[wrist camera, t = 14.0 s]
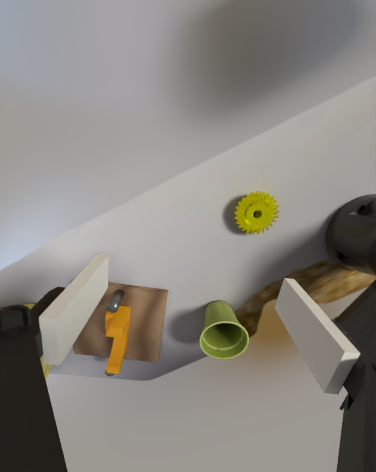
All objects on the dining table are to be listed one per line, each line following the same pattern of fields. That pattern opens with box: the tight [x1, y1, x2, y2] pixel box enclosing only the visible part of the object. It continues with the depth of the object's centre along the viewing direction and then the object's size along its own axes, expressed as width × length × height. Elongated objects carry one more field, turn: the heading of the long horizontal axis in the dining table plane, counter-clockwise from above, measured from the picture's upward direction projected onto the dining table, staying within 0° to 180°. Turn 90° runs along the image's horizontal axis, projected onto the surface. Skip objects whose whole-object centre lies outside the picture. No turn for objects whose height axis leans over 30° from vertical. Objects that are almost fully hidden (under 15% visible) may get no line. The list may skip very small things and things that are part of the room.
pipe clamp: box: [105, 306, 131, 374], centre depth 46 cm, size 12×4×6 cm, turn 170°
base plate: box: [74, 283, 168, 362], centre depth 50 cm, size 20×20×1 cm
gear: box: [235, 191, 279, 234], centre depth 40 cm, size 8×4×8 cm
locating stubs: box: [105, 289, 125, 376], centre depth 47 cm, size 2×19×5 cm, turn 171°
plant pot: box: [200, 301, 249, 359], centre depth 45 cm, size 9×9×9 cm
